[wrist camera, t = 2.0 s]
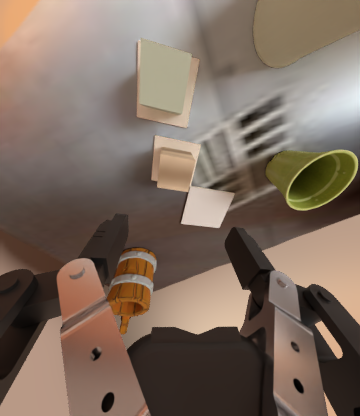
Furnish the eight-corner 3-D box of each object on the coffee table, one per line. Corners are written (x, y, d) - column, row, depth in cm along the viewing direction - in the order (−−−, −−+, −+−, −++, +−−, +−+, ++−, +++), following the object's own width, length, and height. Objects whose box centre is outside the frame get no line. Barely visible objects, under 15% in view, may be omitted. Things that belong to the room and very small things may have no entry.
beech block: (162, 146, 23) (160, 154, 18) (190, 152, 24) (195, 160, 19) (159, 174, 26) (157, 187, 21) (184, 178, 27) (188, 191, 22)
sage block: (149, 60, 18) (140, 37, 13) (186, 71, 18) (192, 53, 13) (147, 107, 20) (139, 103, 15) (179, 115, 21) (182, 113, 16)
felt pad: (190, 185, 28) (190, 186, 28) (234, 192, 30) (235, 193, 29) (180, 222, 33) (181, 223, 33) (218, 226, 35) (219, 227, 35)
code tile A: (155, 135, 23) (155, 135, 22) (200, 144, 24) (200, 144, 24) (151, 179, 27) (151, 180, 27) (190, 185, 28) (190, 186, 28)
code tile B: (138, 41, 17) (137, 40, 17) (199, 60, 18) (199, 59, 18) (137, 116, 21) (136, 116, 21) (186, 128, 22) (186, 128, 22)
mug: (160, 248, 38) (155, 311, 26) (151, 279, 47) (143, 337, 34) (120, 242, 36) (94, 307, 24) (118, 276, 45) (98, 337, 32)
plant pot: (301, 180, 29) (344, 200, 22) (256, 193, 30) (283, 217, 23) (310, 133, 24) (371, 139, 17) (256, 151, 25) (290, 164, 18)
